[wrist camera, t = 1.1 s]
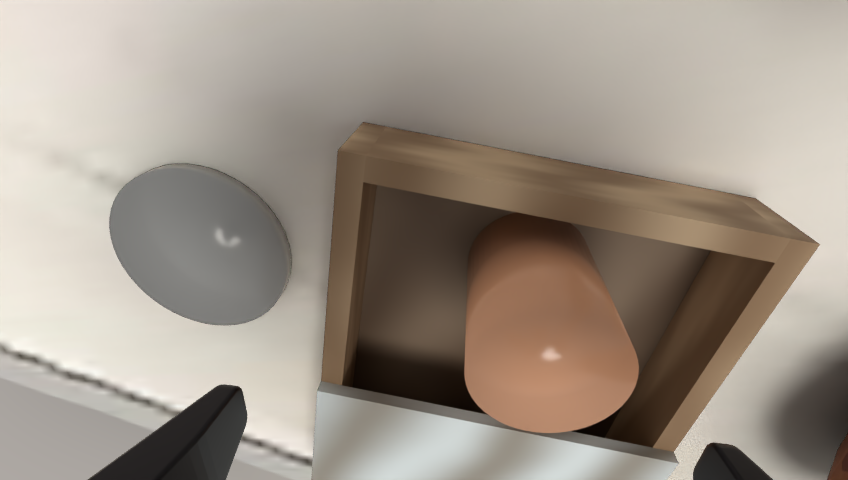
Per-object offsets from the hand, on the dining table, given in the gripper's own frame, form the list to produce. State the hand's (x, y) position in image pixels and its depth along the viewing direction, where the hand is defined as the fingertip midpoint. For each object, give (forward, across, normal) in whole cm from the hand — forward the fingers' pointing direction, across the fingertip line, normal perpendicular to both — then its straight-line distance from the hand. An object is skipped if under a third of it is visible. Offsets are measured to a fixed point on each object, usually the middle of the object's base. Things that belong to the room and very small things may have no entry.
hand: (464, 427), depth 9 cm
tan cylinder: (+12, -3, +4) cm, 13 cm away
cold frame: (+13, -2, +10) cm, 16 cm away
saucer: (+13, +13, +5) cm, 19 cm away
